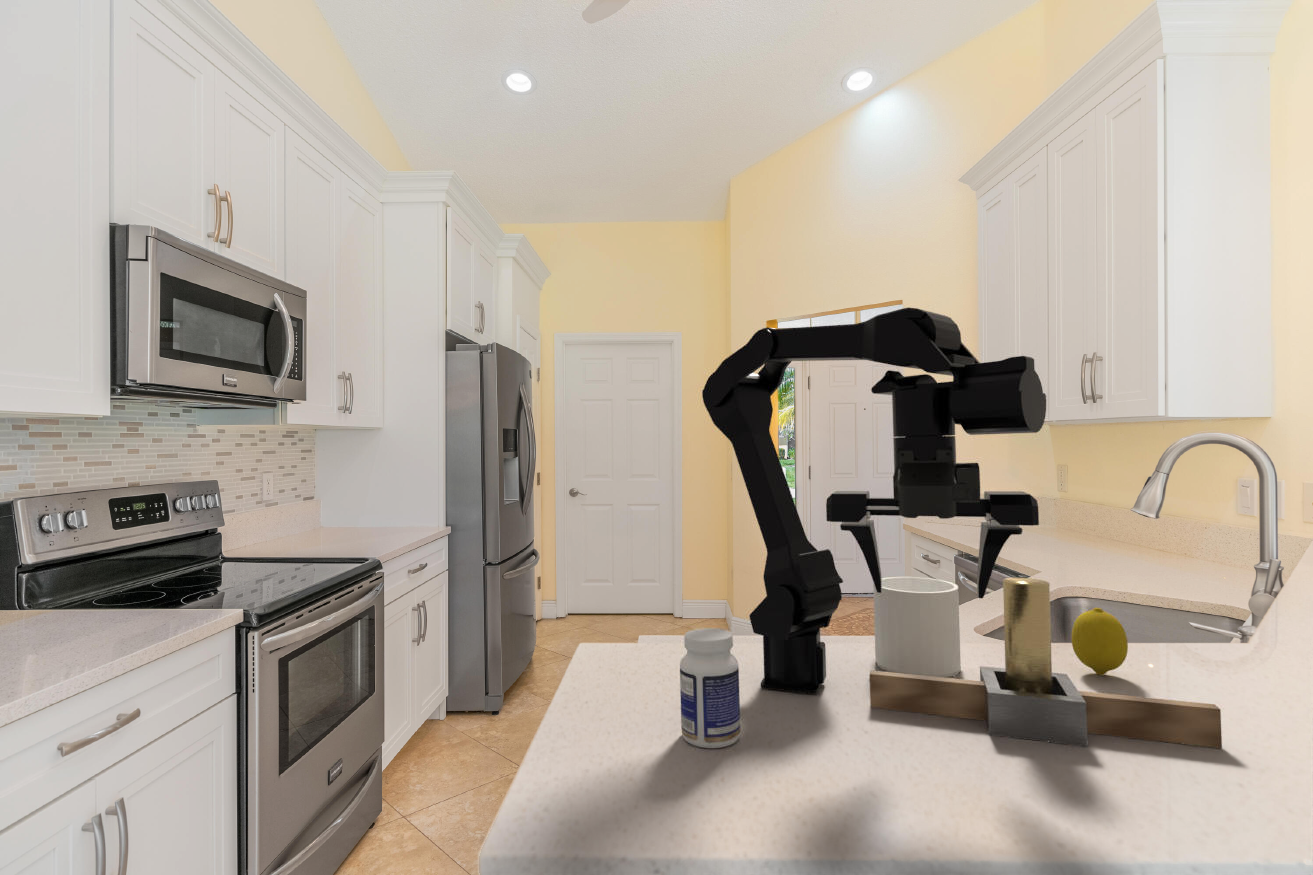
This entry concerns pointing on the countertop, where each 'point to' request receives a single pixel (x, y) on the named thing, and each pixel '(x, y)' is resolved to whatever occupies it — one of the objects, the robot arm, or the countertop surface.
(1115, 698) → the hinge leaves
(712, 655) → the pill bottle
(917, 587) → the mug
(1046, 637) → the hinge pin
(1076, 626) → the lemon
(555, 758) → the countertop surface
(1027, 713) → the gray square planter
